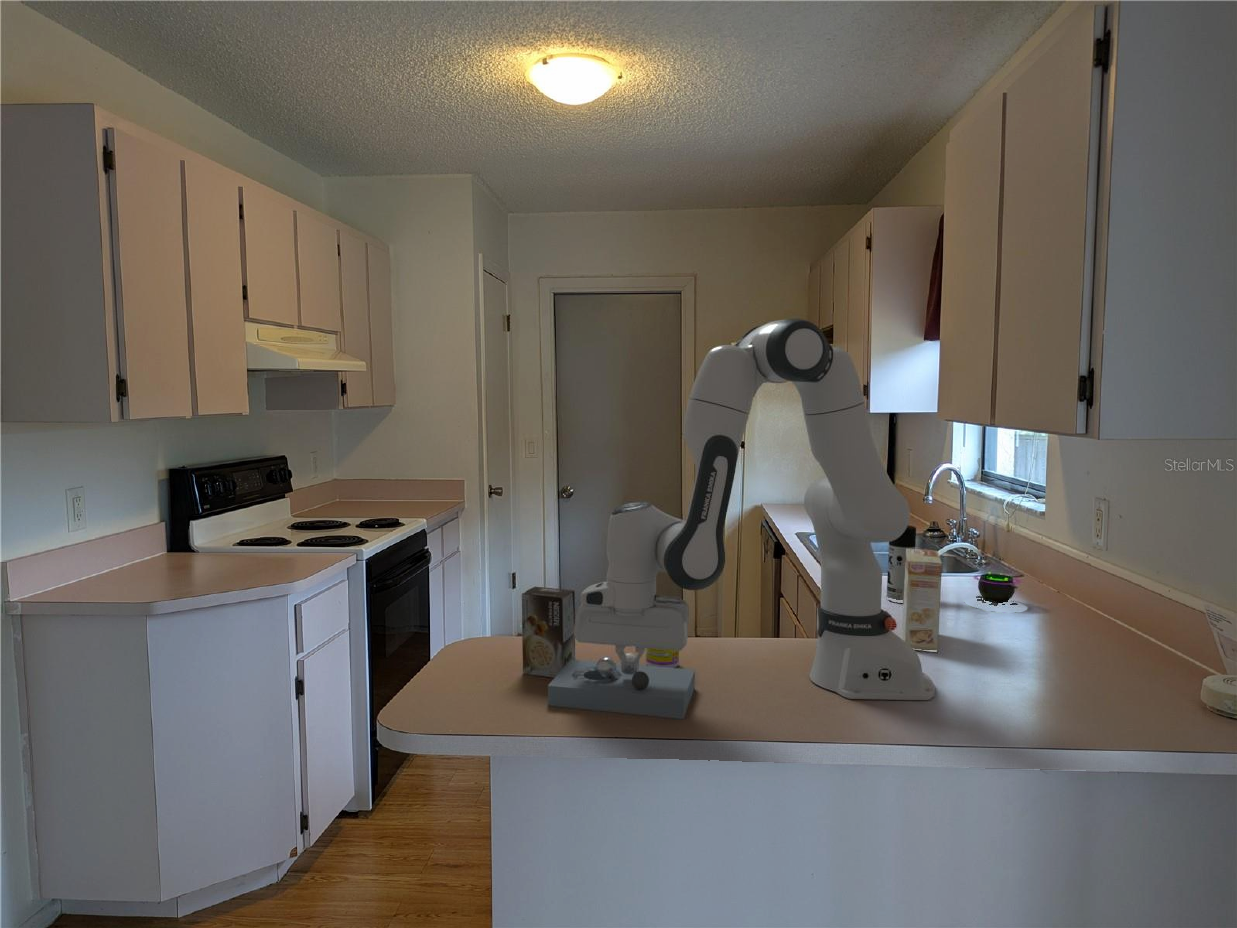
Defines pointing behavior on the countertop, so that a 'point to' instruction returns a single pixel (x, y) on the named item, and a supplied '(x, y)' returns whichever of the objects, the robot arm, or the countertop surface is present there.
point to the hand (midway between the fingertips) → (630, 669)
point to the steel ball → (606, 667)
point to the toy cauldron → (996, 588)
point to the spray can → (899, 562)
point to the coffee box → (547, 630)
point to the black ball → (640, 680)
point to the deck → (623, 690)
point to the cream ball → (630, 655)
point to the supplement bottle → (662, 658)
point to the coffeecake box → (922, 599)
